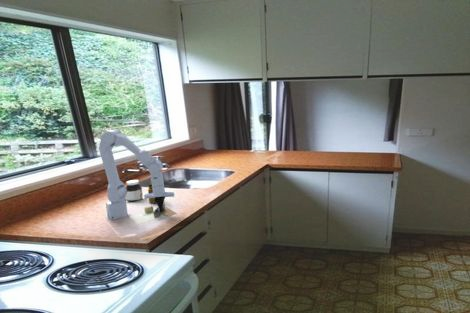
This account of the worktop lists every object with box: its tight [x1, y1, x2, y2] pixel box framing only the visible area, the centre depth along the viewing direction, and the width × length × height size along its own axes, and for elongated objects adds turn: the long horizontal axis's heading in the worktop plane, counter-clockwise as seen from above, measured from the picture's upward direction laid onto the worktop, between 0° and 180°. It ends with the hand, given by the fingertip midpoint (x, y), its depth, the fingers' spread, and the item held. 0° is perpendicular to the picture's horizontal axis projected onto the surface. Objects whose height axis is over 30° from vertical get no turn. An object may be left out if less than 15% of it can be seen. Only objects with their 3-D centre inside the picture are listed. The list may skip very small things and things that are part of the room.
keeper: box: [143, 205, 154, 213], centre depth 164 cm, size 4×2×2 cm, turn 125°
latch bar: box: [154, 203, 166, 217], centre depth 162 cm, size 12×3×3 cm, turn 178°
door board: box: [129, 206, 178, 225], centre depth 160 cm, size 20×13×1 cm, turn 125°
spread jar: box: [125, 179, 144, 203], centre depth 188 cm, size 12×11×12 cm
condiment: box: [147, 182, 157, 205], centre depth 179 cm, size 7×8×12 cm
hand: (161, 211), depth 160 cm, fingers closed, pressing on latch bar
